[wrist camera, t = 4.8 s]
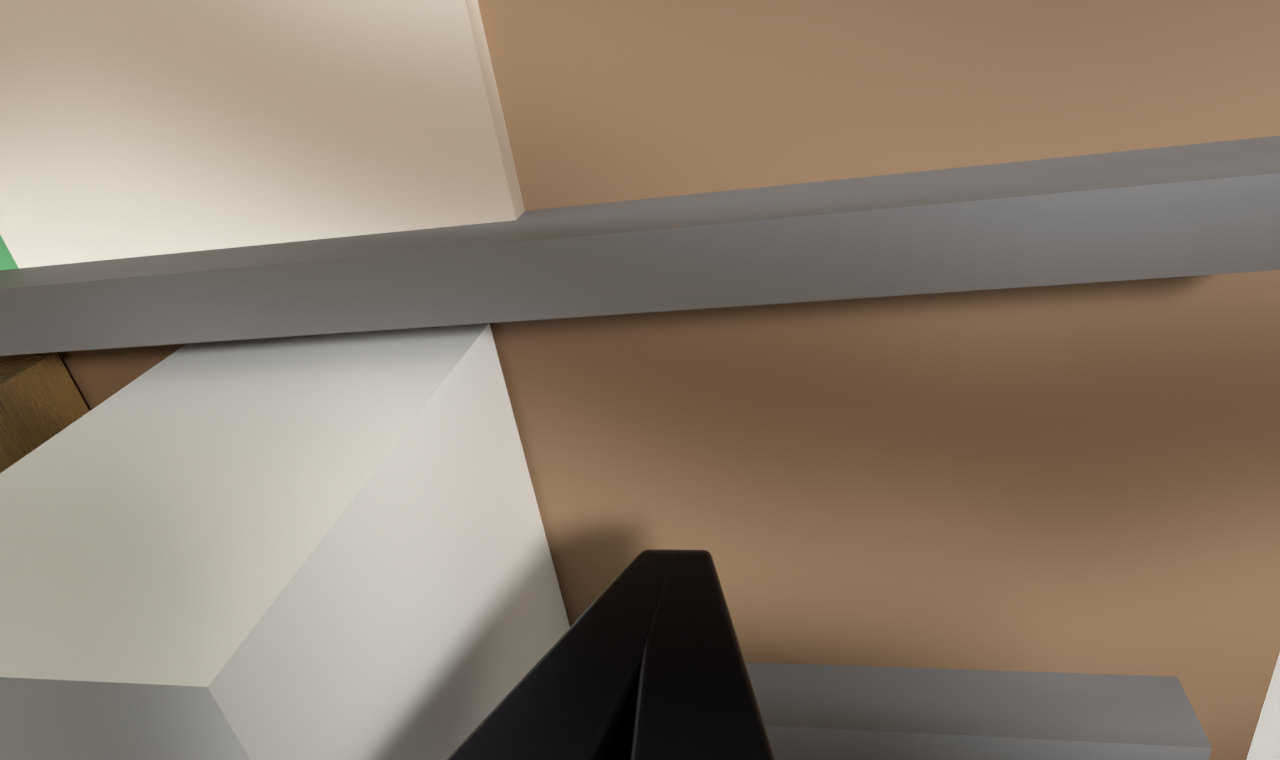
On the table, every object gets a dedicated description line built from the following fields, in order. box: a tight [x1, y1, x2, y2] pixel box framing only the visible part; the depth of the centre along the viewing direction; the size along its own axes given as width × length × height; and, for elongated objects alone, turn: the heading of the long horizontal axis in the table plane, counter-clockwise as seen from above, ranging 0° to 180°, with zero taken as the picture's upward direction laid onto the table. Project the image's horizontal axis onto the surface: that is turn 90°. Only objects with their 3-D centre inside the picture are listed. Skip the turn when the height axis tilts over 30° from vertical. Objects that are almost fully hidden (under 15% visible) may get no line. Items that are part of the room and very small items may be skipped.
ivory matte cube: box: [0, 323, 570, 760], centre depth 9 cm, size 5×6×5 cm
